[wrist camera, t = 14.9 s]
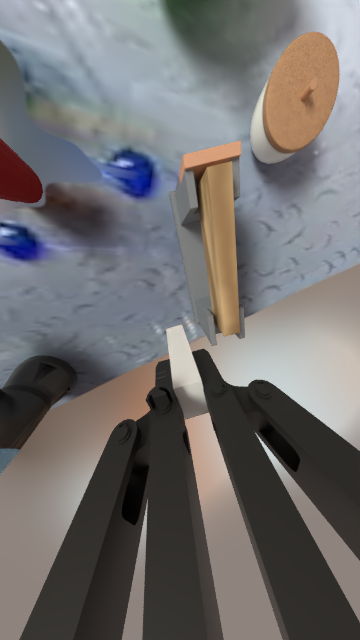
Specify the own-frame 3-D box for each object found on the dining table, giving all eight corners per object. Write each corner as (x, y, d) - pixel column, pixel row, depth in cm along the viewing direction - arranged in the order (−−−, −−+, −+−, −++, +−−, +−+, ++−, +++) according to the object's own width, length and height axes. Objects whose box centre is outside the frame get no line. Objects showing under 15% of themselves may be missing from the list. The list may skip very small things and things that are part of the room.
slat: (214, 322, 32) (224, 336, 27) (196, 189, 22) (207, 167, 16) (226, 319, 32) (239, 332, 27) (214, 184, 22) (231, 161, 17)
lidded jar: (267, 73, 24) (325, -27, 15) (304, 126, 27) (369, 68, 19) (228, 148, 27) (258, 99, 19) (265, 188, 30) (306, 161, 22)
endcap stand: (195, 321, 42) (208, 348, 29) (169, 195, 29) (174, 151, 17) (224, 313, 42) (250, 337, 30) (211, 184, 29) (247, 132, 17)
